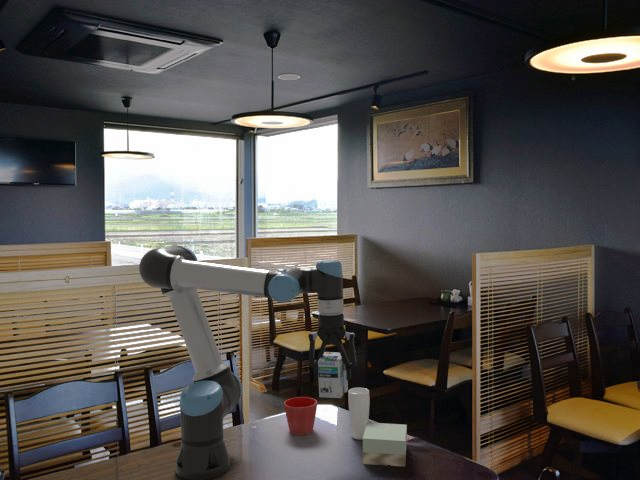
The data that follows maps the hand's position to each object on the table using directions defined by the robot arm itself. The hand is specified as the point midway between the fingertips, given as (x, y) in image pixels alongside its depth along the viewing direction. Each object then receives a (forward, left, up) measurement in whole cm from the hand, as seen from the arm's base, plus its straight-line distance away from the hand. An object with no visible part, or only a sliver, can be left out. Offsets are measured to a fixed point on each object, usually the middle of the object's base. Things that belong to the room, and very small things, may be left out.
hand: (333, 390), depth 162 cm
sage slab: (+15, +1, -16) cm, 22 cm away
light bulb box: (0, 0, -1) cm, 1 cm away
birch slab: (+15, +2, -20) cm, 25 cm away
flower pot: (-14, +17, -20) cm, 29 cm away
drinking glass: (+6, +14, -20) cm, 25 cm away
